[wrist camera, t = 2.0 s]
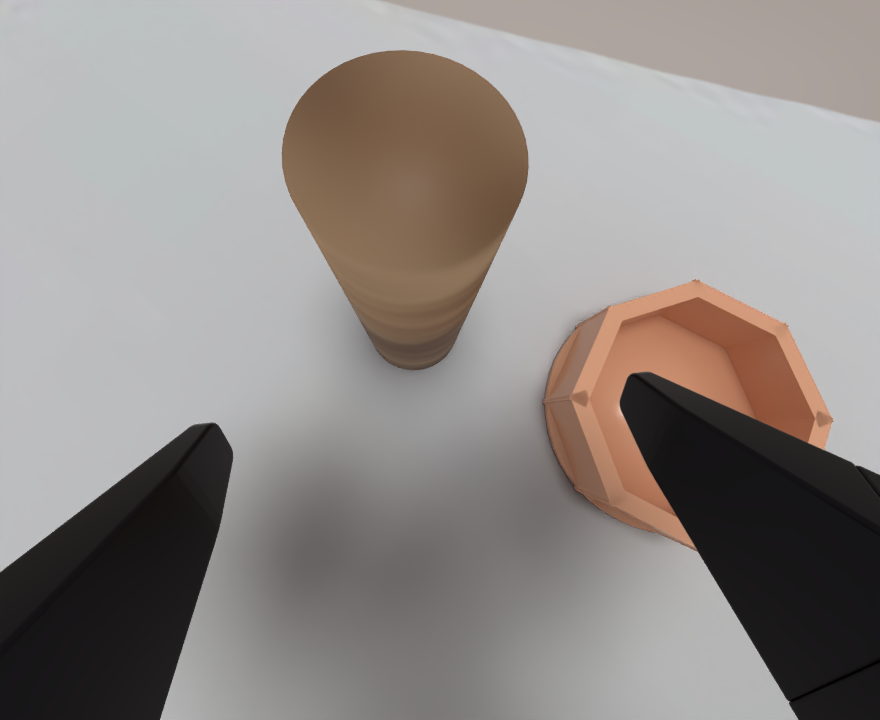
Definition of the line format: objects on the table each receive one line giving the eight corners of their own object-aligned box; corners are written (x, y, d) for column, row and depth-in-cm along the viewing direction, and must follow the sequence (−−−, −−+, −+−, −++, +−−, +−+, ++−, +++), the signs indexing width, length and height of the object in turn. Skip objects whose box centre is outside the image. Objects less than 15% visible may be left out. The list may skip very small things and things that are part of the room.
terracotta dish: (720, 573, 19) (789, 607, 15) (507, 462, 19) (527, 471, 15) (786, 364, 21) (859, 353, 17) (595, 268, 21) (630, 238, 18)
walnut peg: (432, 385, 19) (462, 313, 6) (354, 344, 19) (232, 195, 7) (471, 310, 20) (565, 115, 7) (396, 271, 20) (360, 14, 7)
